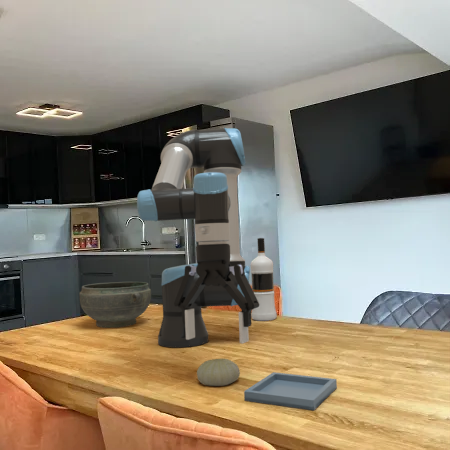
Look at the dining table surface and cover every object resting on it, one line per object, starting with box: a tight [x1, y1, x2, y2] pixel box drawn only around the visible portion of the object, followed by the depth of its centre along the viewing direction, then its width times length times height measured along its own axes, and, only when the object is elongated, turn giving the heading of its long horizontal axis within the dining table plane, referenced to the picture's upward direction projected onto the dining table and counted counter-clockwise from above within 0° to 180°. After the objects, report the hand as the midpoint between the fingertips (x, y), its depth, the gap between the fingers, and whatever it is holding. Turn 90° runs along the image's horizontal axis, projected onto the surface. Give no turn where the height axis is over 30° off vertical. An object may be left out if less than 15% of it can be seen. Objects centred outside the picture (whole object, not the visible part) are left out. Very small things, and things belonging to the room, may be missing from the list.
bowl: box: [79, 281, 152, 329], centre depth 189 cm, size 32×26×15 cm
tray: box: [243, 372, 338, 411], centre depth 100 cm, size 14×14×2 cm
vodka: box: [250, 237, 278, 322], centre depth 187 cm, size 9×9×30 cm
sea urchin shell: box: [196, 358, 241, 387], centre depth 111 cm, size 9×8×8 cm
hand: (216, 340), depth 111 cm, fingers open, 13 cm apart
